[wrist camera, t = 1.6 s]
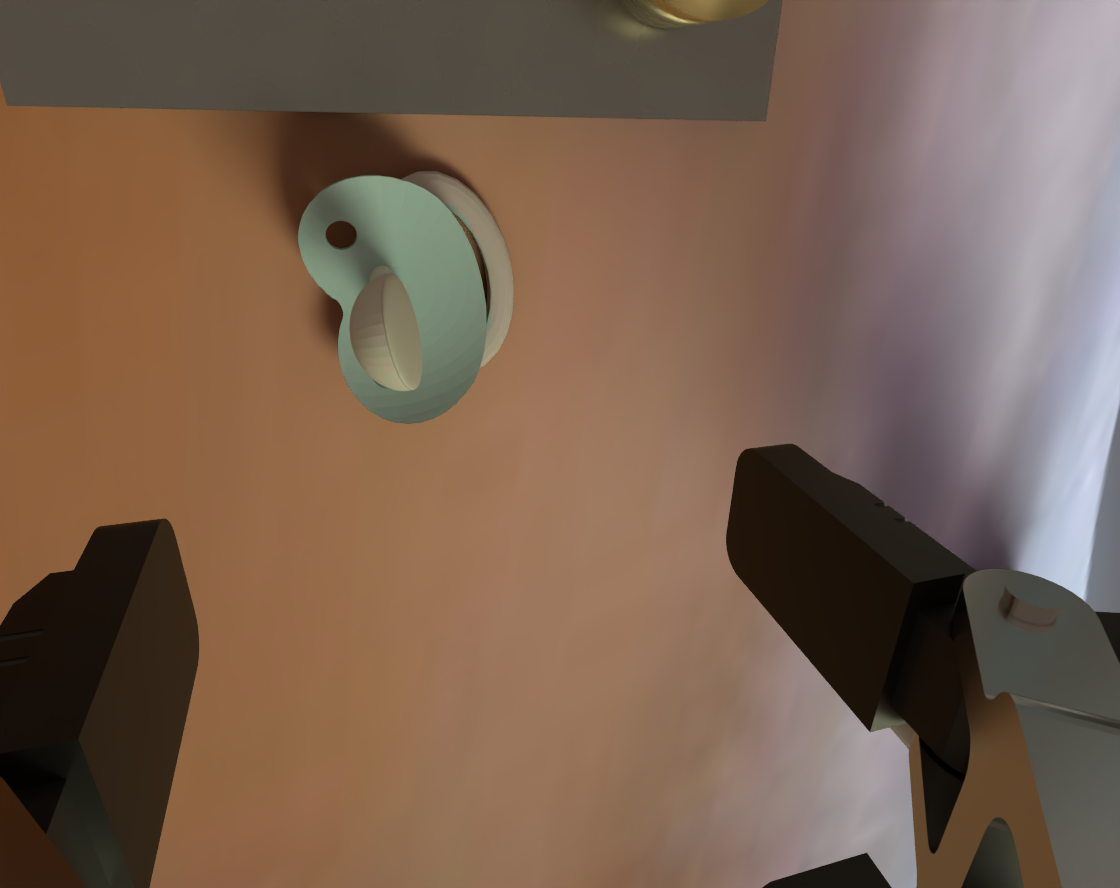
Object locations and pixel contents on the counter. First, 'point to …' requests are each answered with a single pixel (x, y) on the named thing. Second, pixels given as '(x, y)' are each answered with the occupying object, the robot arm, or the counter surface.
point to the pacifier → (410, 288)
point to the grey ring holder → (396, 56)
